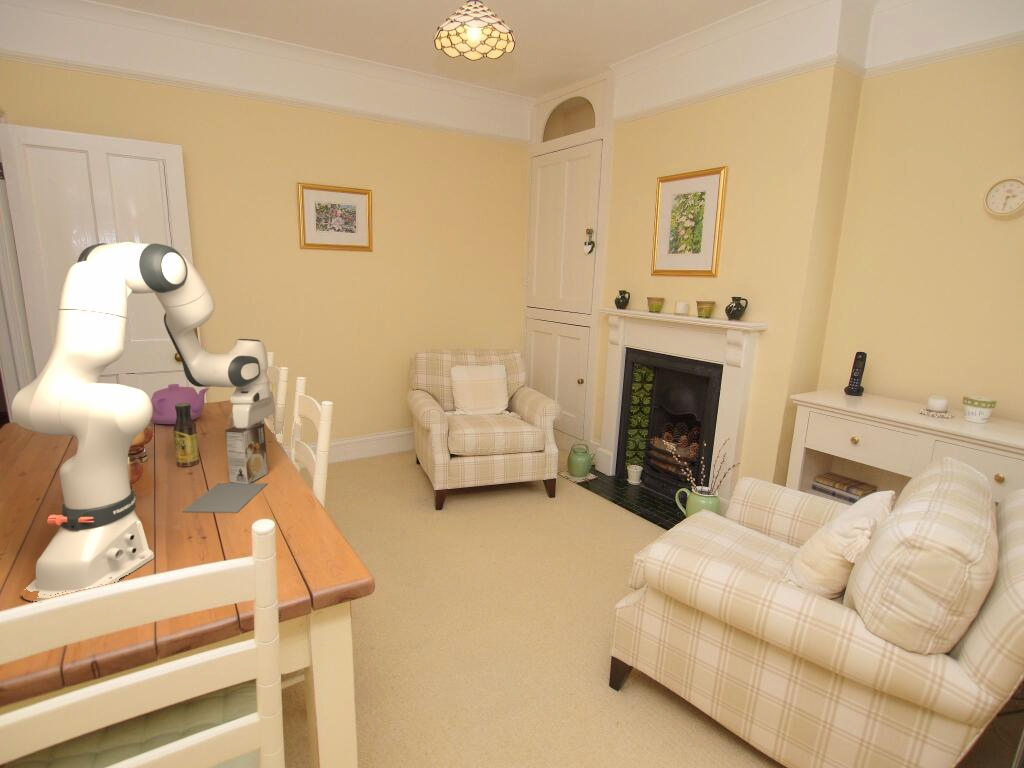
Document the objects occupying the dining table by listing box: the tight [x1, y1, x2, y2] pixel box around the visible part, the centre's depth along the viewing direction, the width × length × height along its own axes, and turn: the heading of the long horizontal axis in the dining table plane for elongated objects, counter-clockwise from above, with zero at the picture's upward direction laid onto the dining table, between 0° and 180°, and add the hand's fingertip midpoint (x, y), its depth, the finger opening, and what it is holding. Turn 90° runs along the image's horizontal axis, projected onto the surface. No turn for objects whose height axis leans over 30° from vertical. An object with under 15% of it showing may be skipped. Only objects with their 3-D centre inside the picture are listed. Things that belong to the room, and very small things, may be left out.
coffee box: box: [224, 423, 269, 484], centre depth 155 cm, size 9×6×16 cm
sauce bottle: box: [172, 403, 200, 468], centre depth 164 cm, size 7×6×20 cm
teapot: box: [150, 383, 210, 425], centre depth 208 cm, size 23×21×15 cm
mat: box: [182, 482, 268, 514], centre depth 144 cm, size 18×14×1 cm
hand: (257, 434), depth 162 cm, fingers closed
